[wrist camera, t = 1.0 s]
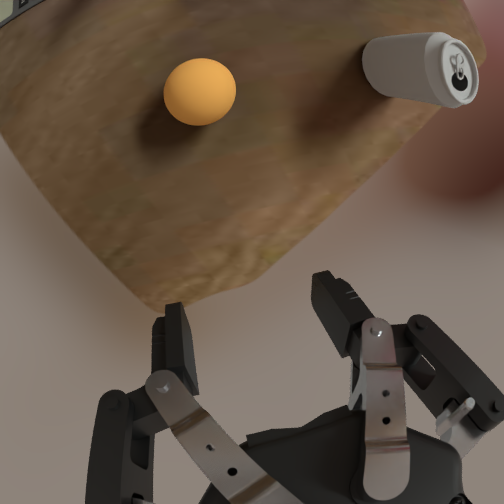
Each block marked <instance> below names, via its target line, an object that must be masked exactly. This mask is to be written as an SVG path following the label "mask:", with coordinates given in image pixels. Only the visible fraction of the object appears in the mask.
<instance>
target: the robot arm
mask: <svg viewBox="0 0 504 504" xmlns="http://www.w3.org/2000/svg"><path fill="white" fill-rule="evenodd" d="M311 302H312V306H313V309H314V310H315V312H316V314H317V316H318V317H319V319H320V321H321V322H322V324H323V326H324V328H325V330H326V331H327V333H328V335H329V336H330V338H331V340H332V342H333V343H334V345H335V347H336V349H337V350H338V352H339V354H340V356H341V357H342V358H344V357H347V356H350V357H351V359H352V362H351V376H350V397H349V403H348V406H347V405H345V406H342V407H339V408H337V409H334V410H331V411H329V412H326V413H323V414H322V415H320V416H319V417H317V418H315V419H314V420H312V421H311V422H309V423H307V424H306V425H304V426H302V427H299V428H284V429H270V430H266V431H262V432H258V433H254V434H249V435H246V437H247V441H246V442H244V443H242V444H240V445H237V444H236V443H235V442H234V441H233V439H232V438H231V437H230V436H229V435H228V434H227V433H226V432H225V431H224V430H223V429H222V428H221V426H220V425H219V424H218V423H217V422H216V421H215V420H214V419H213V417H212V416H211V415H210V414H209V413H208V412H207V411H206V410H204V409H203V408H202V407H201V406H200V405H199V403H198V402H197V401H196V400H195V399H194V397H193V396H195V395H199V389H198V382H197V374H196V366H195V358H194V350H193V341H192V334H191V329H190V326H189V322H188V319H187V317H186V314H185V311H184V308H183V305H182V302H178V303H172V304H167V305H166V306H165V316H164V317H158V318H157V319H156V321H155V323H154V325H153V328H152V371H151V375H150V376H149V377H148V379H147V380H146V383H145V385H144V386H142V387H141V388H139V389H137V390H135V391H132V392H130V393H127V394H125V393H124V392H123V391H120V390H111V391H108V392H106V393H105V394H104V395H103V396H102V397H101V398H100V400H99V404H98V409H97V414H96V419H95V425H94V430H93V436H92V443H91V450H90V457H89V465H88V474H87V484H86V496H85V504H154V503H153V461H154V460H153V459H154V438H155V433H158V432H160V431H162V430H164V429H167V428H169V427H170V429H171V431H172V433H173V434H174V436H175V437H176V439H177V440H178V442H179V443H180V444H181V446H182V447H183V448H184V450H185V451H186V452H187V453H188V455H189V456H190V457H191V459H192V460H193V461H194V462H195V463H196V465H197V466H198V467H199V468H200V470H201V471H202V472H203V473H204V474H205V475H206V477H207V478H208V479H209V480H210V481H211V483H210V485H209V487H208V488H207V490H206V492H205V494H204V495H203V497H202V499H201V500H200V502H199V504H472V503H471V502H470V501H469V500H468V498H467V497H466V496H465V494H464V491H463V485H462V461H461V459H462V458H463V457H464V456H465V455H466V454H467V453H468V452H469V451H470V450H471V449H472V448H473V447H474V446H475V444H477V442H478V441H479V440H480V439H481V438H482V437H483V436H484V435H485V434H487V433H488V432H489V431H491V430H492V429H493V428H495V427H496V426H497V425H498V424H499V423H501V422H502V421H503V420H504V395H503V394H502V393H501V391H500V390H499V389H498V388H497V387H496V386H495V385H494V383H493V382H492V381H491V380H490V379H489V378H488V377H487V376H486V375H485V374H484V373H483V371H482V370H481V369H480V368H479V367H478V366H477V365H476V364H475V363H474V362H473V361H472V360H471V359H470V358H469V357H468V356H467V355H466V354H465V353H464V352H463V351H462V350H461V348H459V346H458V345H457V344H456V343H454V341H452V339H450V338H449V337H448V336H447V335H446V334H445V333H444V332H443V331H442V330H441V329H440V328H439V327H438V326H437V325H436V324H435V323H434V322H433V321H432V320H431V319H430V318H428V317H427V316H424V315H420V314H418V315H413V316H411V317H410V318H409V320H408V322H407V324H398V325H390V324H389V323H388V322H387V321H386V320H384V319H381V318H376V317H374V315H373V314H372V313H371V311H370V310H369V309H368V307H367V306H366V305H365V303H364V302H363V301H362V300H361V298H360V297H359V296H358V295H357V294H356V292H354V289H353V288H352V287H351V286H350V284H349V283H347V282H346V281H344V280H343V279H341V278H338V279H335V278H334V276H333V275H332V274H331V272H330V271H328V270H327V271H322V272H318V273H314V274H313V276H312V290H311ZM421 355H423V356H424V357H425V358H426V359H427V360H428V361H429V363H430V364H431V365H432V366H433V367H434V368H435V370H434V369H433V368H432V367H431V366H430V364H429V363H428V362H427V361H426V360H425V359H424V358H423V357H422V356H421ZM403 379H404V380H405V381H406V382H407V384H408V385H409V386H410V387H411V388H412V390H413V391H414V392H415V393H416V394H417V396H418V397H419V398H420V399H421V401H422V402H423V403H424V404H425V405H426V407H427V408H428V409H429V410H430V412H431V413H432V414H433V415H434V417H435V418H436V433H437V434H438V435H439V436H440V440H439V439H436V438H434V437H431V436H428V435H426V434H423V433H420V432H418V431H416V430H413V429H411V428H408V427H406V407H405V391H404V380H403Z"/></svg>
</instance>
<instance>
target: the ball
mask: <svg viewBox="0 0 504 504" xmlns="http://www.w3.org/2000/svg"><path fill="white" fill-rule="evenodd" d="M235 95H236V85H235V81H234V78H233V76H232V74H231V73H230V71H229V70H228V69H227V68H226V67H225V66H223V65H222V64H220V63H219V62H216V61H214V60H211V59H203V58H200V59H193V60H189V61H186V62H184V63H182V64H181V65H179V66H178V67H177V68H175V69H174V70H173V71H172V72H171V74H170V75H169V77H168V79H167V80H166V83H165V86H164V101H165V104H166V107H167V109H168V110H169V112H170V113H171V114H172V115H173V116H174V117H175V118H176V119H177V120H179V121H181V122H183V123H185V124H189V125H197V126H200V125H207V124H210V123H213V122H215V121H217V120H219V119H220V118H222V117H223V116H224V115H225V114H226V113H227V112H228V111H229V110H230V108H231V106H232V105H233V102H234V100H235Z"/></svg>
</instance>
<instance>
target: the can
mask: <svg viewBox="0 0 504 504" xmlns="http://www.w3.org/2000/svg"><path fill="white" fill-rule="evenodd" d="M362 64H363V70H364V73H365V75H366V78H367V80H368V81H369V83H370V84H371V86H372V87H373V88H374V89H375V90H377V91H378V92H379V93H381V94H383V95H385V96H389V97H396V98H403V99H409V100H415V101H421V102H426V103H431V104H436V105H441V106H445V107H450V108H456V107H458V106H461V105H462V104H468V103H470V102H471V101H472V100H473V99H474V98H475V95H476V93H477V90H478V82H479V80H478V70H477V66H476V62H475V60H474V58H473V55H472V54H471V52H470V51H469V49H468V48H467V46H466V45H465V44H464V43H462V42H461V41H459V40H457V39H453V38H452V37H451V36H450V35H448V34H445V33H442V32H433V33H415V34H404V35H394V36H386V37H379V38H375V39H372V40H371V41H370V42H368V43H367V45H366V47H365V49H364V50H363V56H362Z"/></svg>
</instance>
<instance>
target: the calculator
mask: <svg viewBox="0 0 504 504" xmlns="http://www.w3.org/2000/svg"><path fill="white" fill-rule="evenodd" d="M42 1H44V0H0V28H1V27H2V26H4V25H5V24H6V23H8V22H9V21H11V20H12V19H14V18H15V17H17V16H18V15H20V14H22V13H23V12H25V11H26V10H28V9H30V8H31V7H33V6H35V5H37V4H38V3H40V2H42Z"/></svg>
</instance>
